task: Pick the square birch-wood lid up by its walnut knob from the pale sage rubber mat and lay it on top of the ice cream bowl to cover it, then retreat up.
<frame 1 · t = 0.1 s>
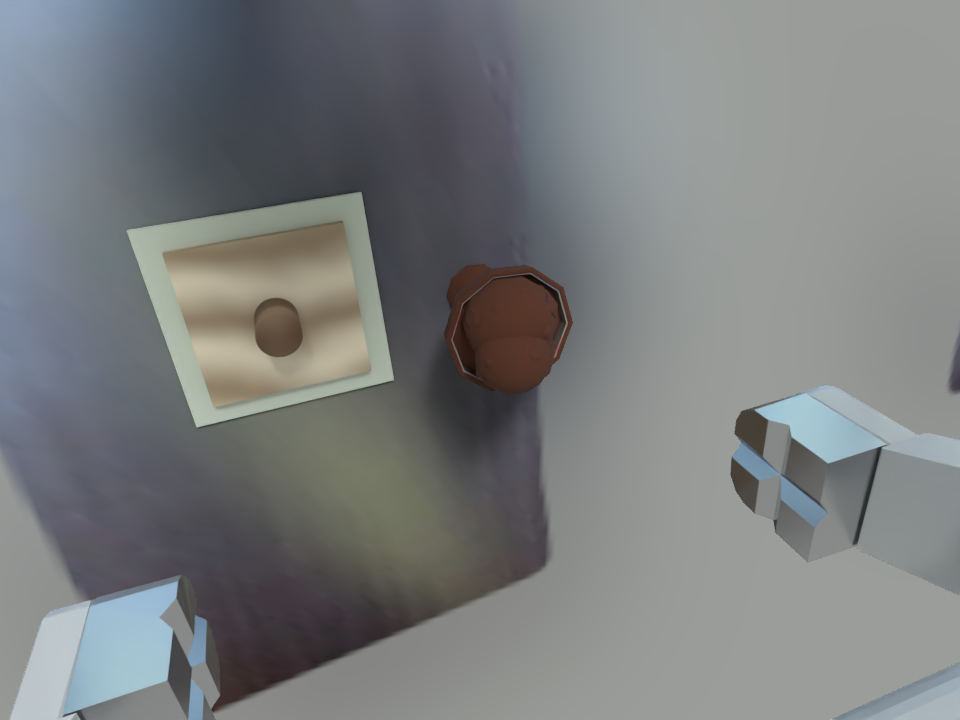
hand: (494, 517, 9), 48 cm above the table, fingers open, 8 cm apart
lid: (275, 314, 56), resting on lid mat
ice cream bowl: (474, 291, 62), on the table
lid mat: (275, 312, 56), on the table
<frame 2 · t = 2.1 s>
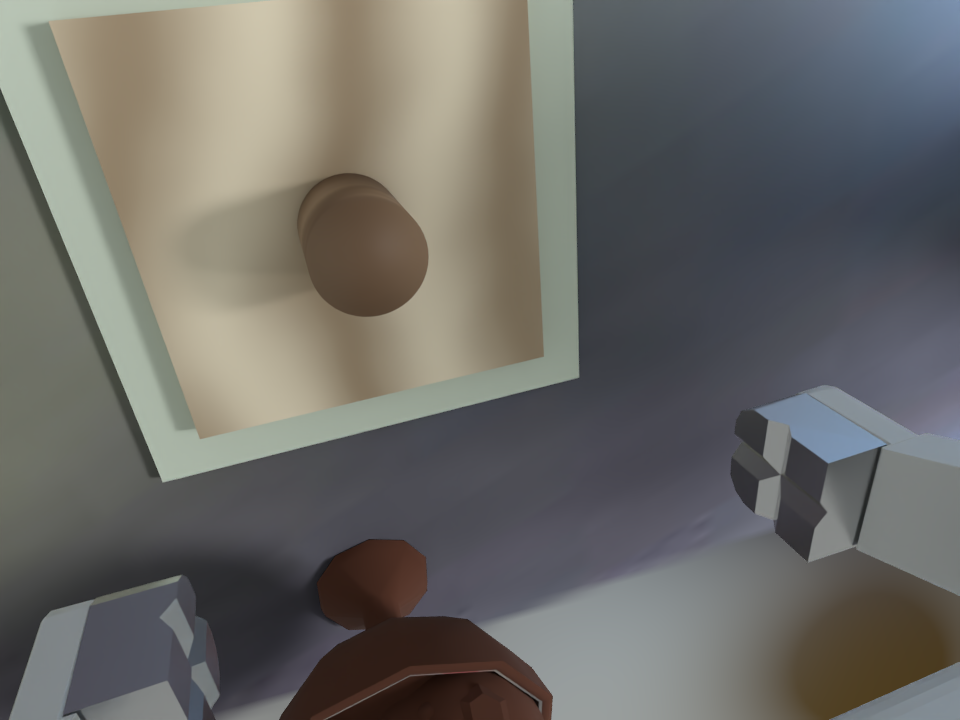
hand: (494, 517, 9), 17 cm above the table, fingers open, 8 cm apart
lid: (347, 219, 23), resting on lid mat
ice cream bowl: (373, 579, 32), on the table
lid mat: (345, 217, 24), on the table
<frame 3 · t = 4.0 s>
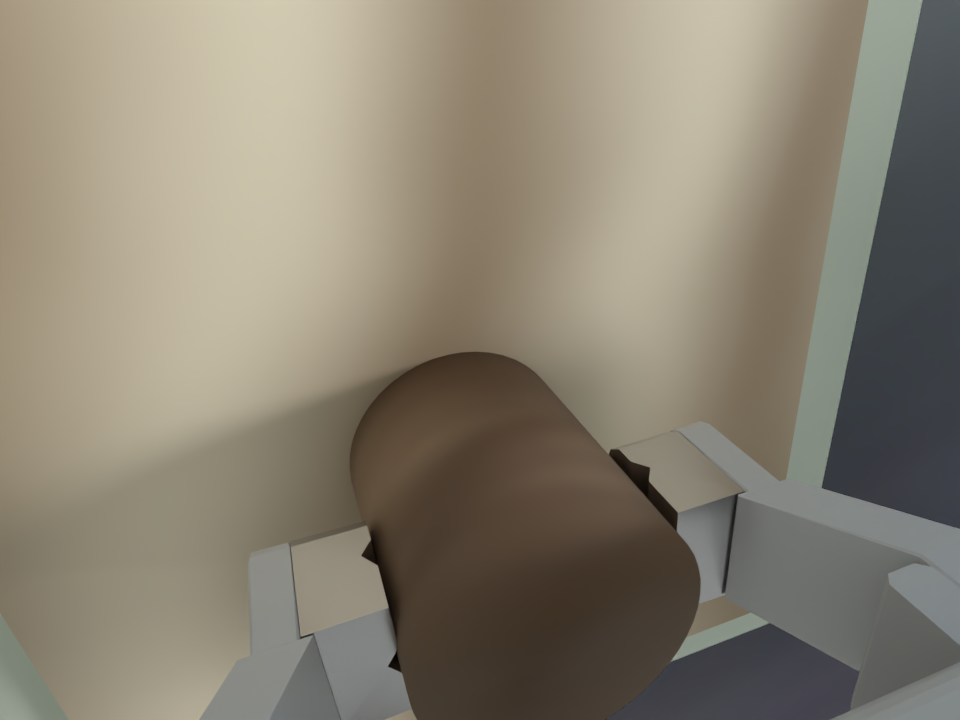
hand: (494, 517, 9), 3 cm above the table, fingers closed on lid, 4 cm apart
lid: (446, 425, 11), resting on lid mat, touching gripper
lid mat: (439, 414, 12), on the table
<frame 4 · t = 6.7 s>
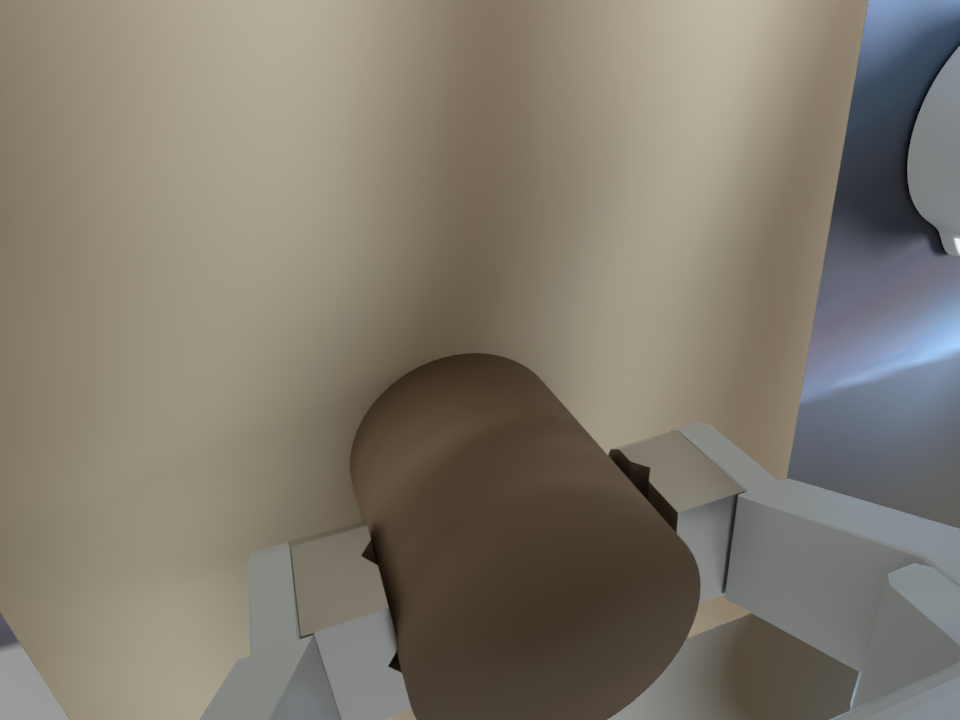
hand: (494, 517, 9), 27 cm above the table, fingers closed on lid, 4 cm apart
lid: (446, 426, 11), point 24 cm above the table, touching gripper
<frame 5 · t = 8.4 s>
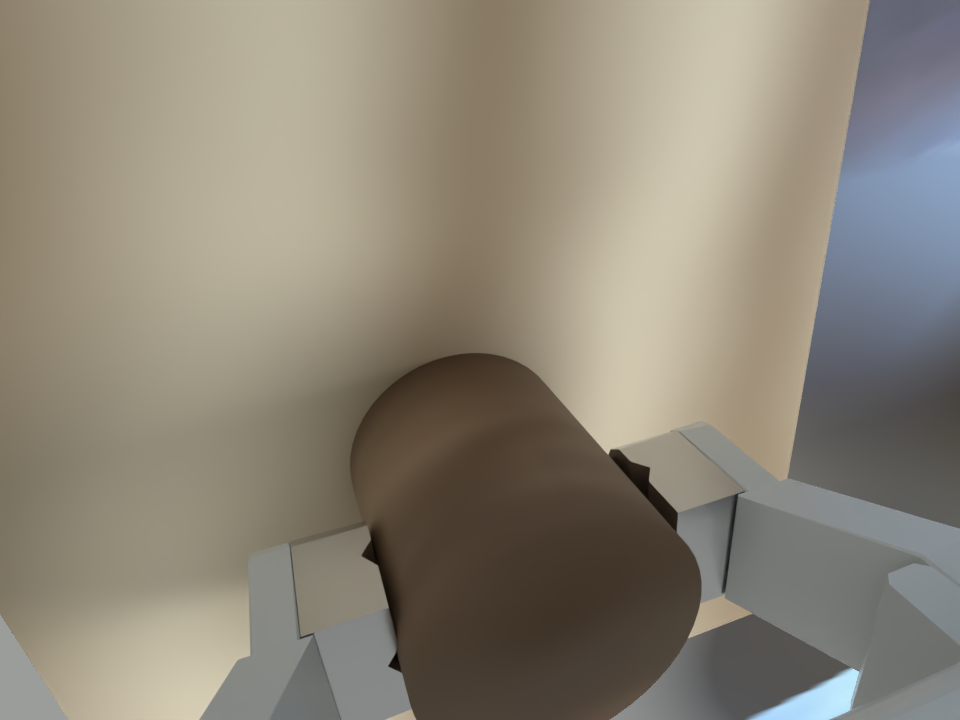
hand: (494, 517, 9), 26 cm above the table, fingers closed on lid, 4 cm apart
lid: (446, 426, 11), point 23 cm above the table, touching gripper
when the fingers open (19 cm above the table, at t = 9.7 s): lid drops 1 cm, resting on ice cream bowl.
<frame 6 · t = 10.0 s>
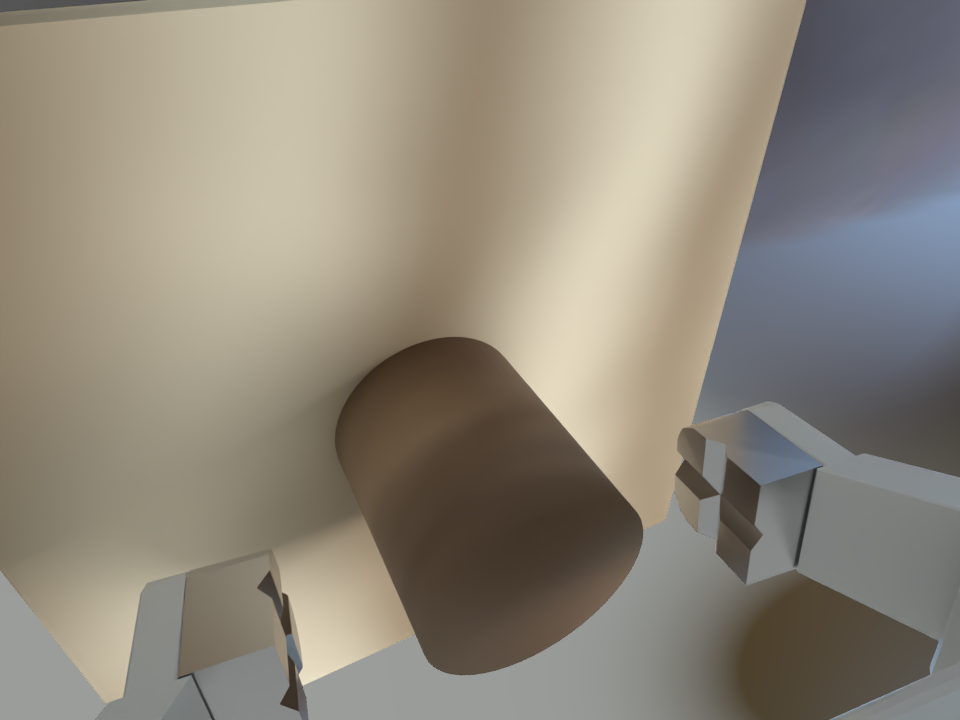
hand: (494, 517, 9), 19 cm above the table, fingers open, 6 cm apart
lid: (414, 393, 13), point 15 cm above the table, tilted 13°, touching ice cream bowl
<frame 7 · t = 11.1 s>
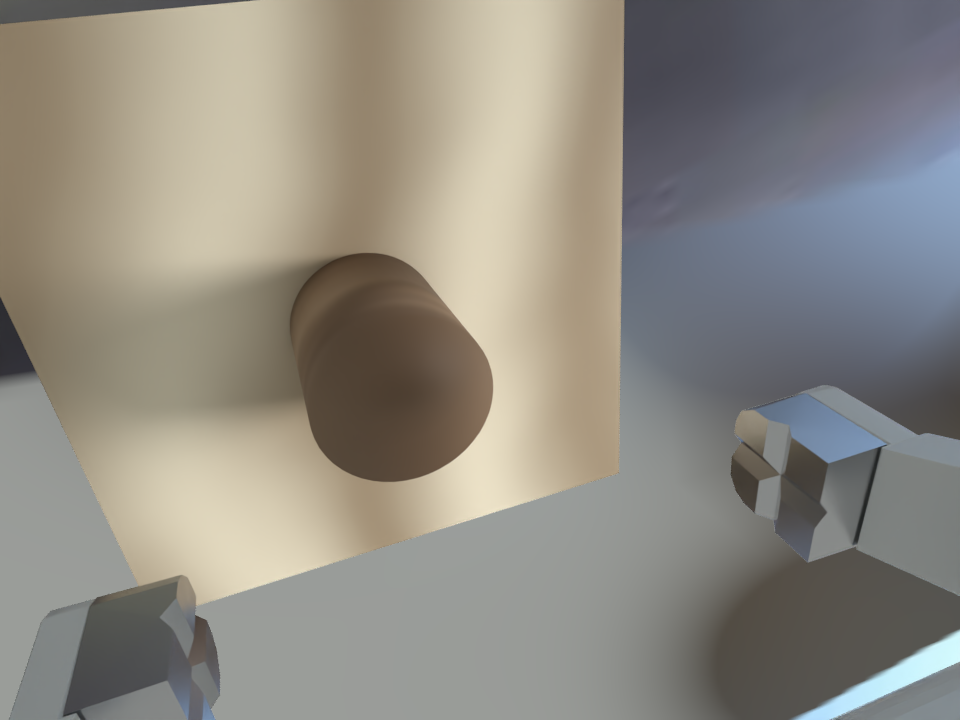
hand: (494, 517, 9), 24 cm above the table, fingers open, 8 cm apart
lid: (360, 312, 16), point 15 cm above the table, touching ice cream bowl
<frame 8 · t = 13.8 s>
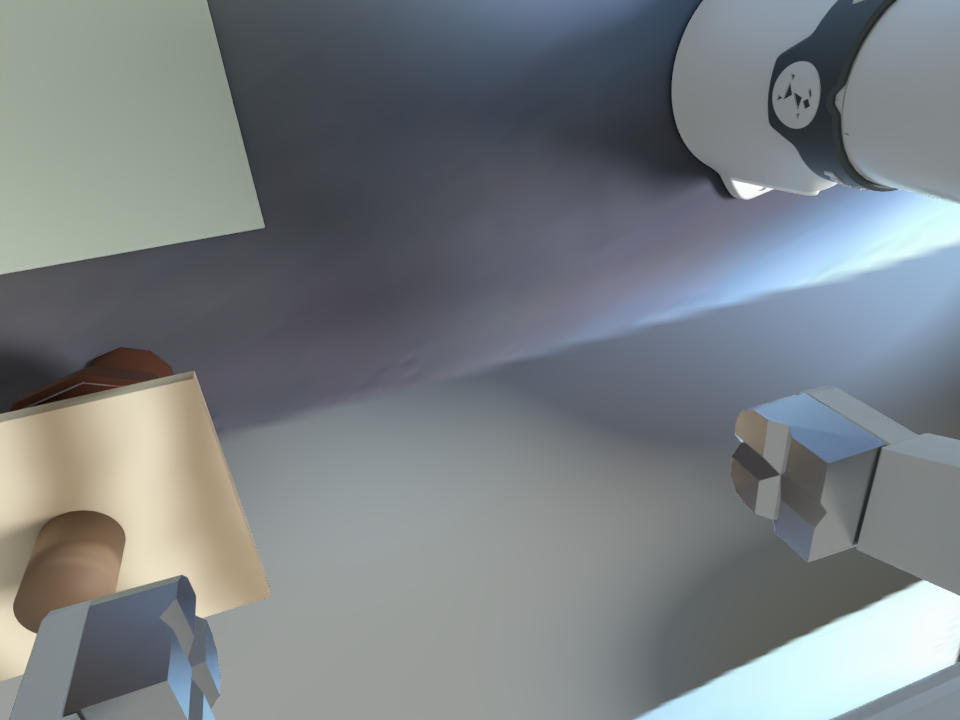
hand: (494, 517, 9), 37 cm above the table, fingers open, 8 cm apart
lid: (85, 530, 31), point 15 cm above the table, touching ice cream bowl
ice cream bowl: (132, 383, 44), on the table, touching lid
lid mat: (57, 96, 36), on the table
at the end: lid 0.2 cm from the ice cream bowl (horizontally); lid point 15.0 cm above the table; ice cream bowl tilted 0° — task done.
